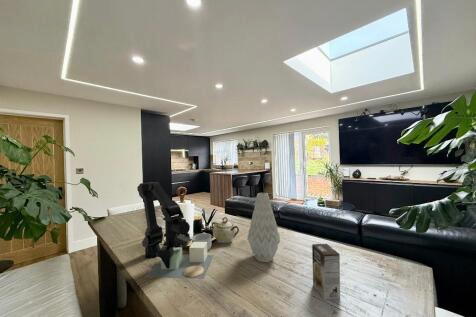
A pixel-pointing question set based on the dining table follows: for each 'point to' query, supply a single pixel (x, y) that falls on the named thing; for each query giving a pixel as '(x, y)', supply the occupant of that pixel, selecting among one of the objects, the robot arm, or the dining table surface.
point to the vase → (263, 230)
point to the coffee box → (326, 271)
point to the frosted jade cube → (174, 259)
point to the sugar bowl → (224, 231)
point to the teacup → (203, 239)
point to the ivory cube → (198, 251)
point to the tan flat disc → (193, 271)
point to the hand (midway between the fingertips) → (172, 263)
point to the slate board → (180, 268)
